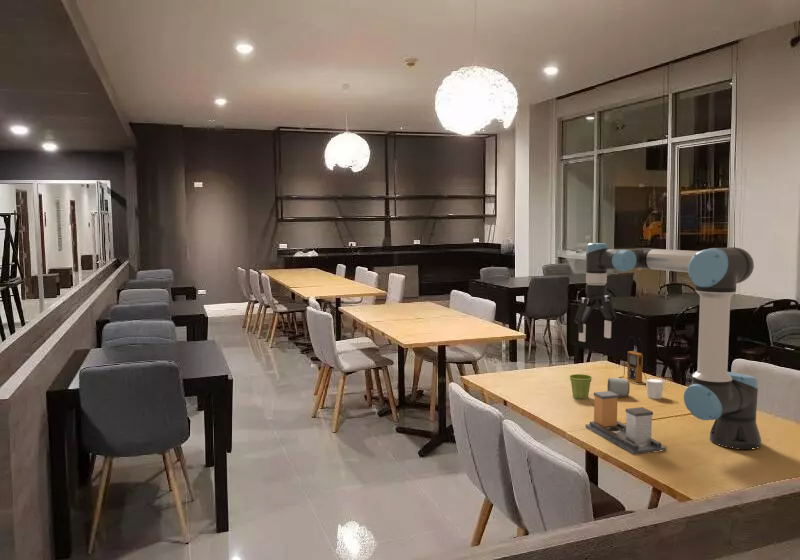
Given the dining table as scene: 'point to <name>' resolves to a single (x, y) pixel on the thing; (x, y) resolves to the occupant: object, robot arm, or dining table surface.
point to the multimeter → (634, 365)
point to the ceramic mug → (619, 386)
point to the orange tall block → (605, 408)
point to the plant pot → (580, 385)
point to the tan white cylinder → (654, 388)
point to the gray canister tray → (631, 432)
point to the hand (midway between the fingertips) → (594, 339)
